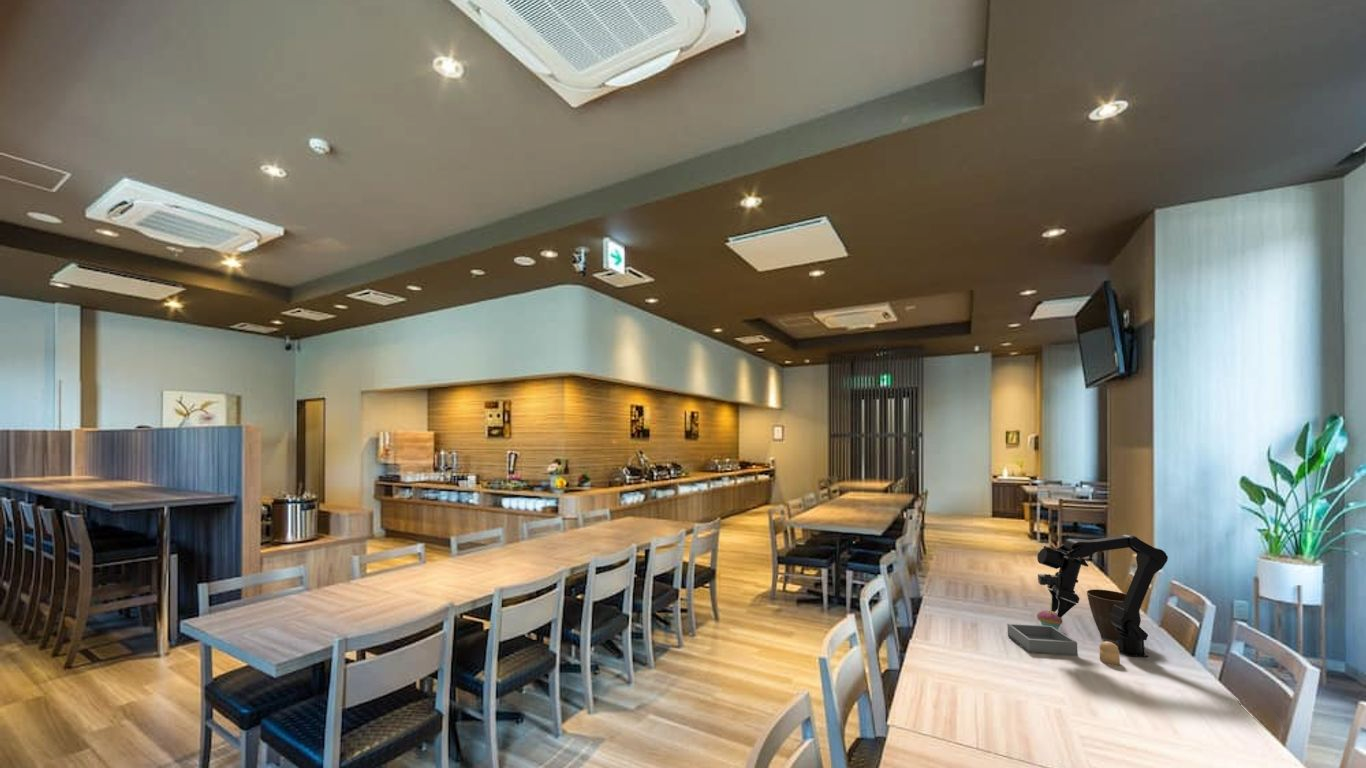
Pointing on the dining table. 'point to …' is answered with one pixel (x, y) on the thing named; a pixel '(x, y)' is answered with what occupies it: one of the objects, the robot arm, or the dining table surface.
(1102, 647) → the tan oval piece
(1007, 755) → the dining table surface
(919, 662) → the dining table surface
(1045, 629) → the bin
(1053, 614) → the cupcake
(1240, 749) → the dining table surface
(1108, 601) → the plant pot
